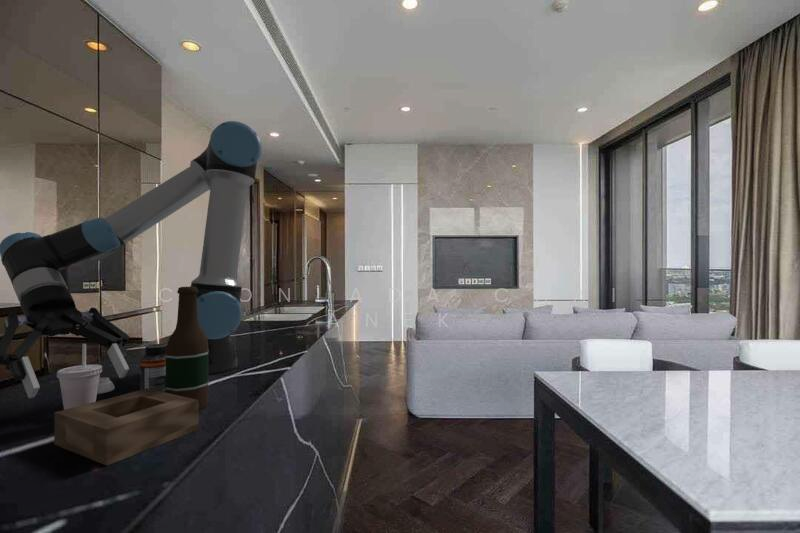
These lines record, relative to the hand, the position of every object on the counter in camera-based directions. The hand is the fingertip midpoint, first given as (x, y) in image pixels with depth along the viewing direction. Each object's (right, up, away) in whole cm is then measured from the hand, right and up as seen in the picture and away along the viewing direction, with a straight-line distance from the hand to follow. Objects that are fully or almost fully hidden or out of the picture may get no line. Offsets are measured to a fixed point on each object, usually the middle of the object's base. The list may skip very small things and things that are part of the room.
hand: (83, 382), depth 70 cm
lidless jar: (-11, -8, +19) cm, 23 cm away
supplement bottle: (+5, -8, +14) cm, 16 cm away
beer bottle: (+15, -7, +8) cm, 18 cm away
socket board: (+12, -7, -6) cm, 16 cm away
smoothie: (-1, -7, 0) cm, 7 cm away
